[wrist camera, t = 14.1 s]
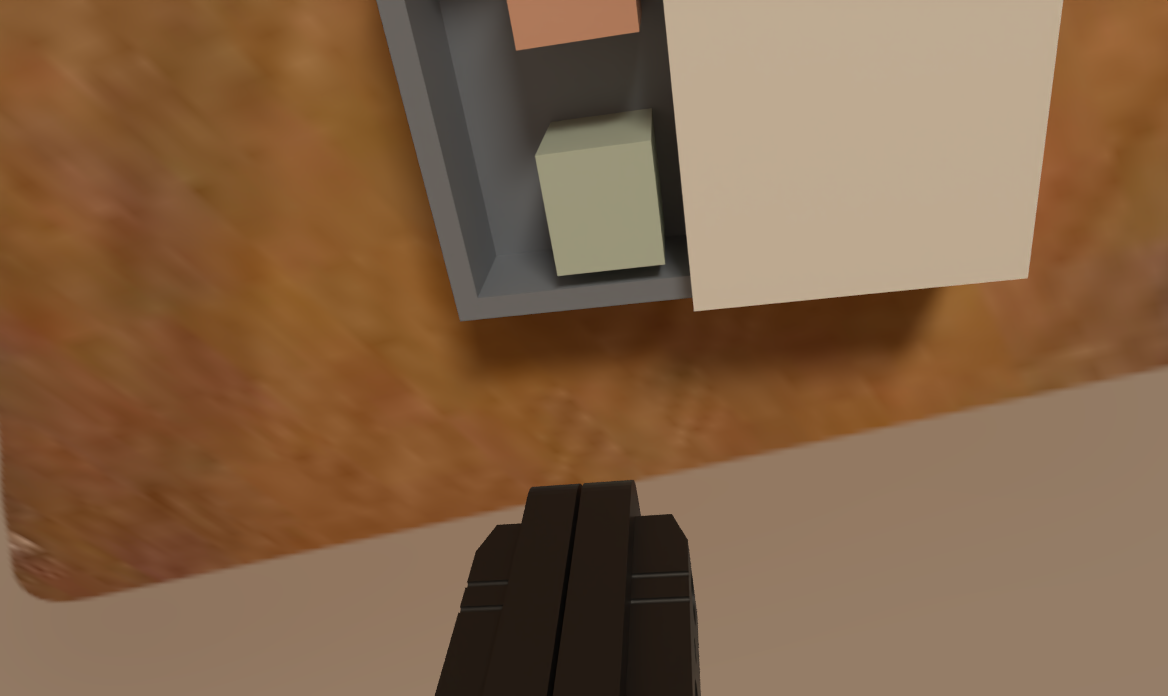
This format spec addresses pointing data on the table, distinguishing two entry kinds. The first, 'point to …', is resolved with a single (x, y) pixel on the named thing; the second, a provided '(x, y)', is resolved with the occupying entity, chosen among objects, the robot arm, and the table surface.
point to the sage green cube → (602, 192)
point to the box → (525, 148)
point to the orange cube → (571, 20)
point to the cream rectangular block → (858, 143)
